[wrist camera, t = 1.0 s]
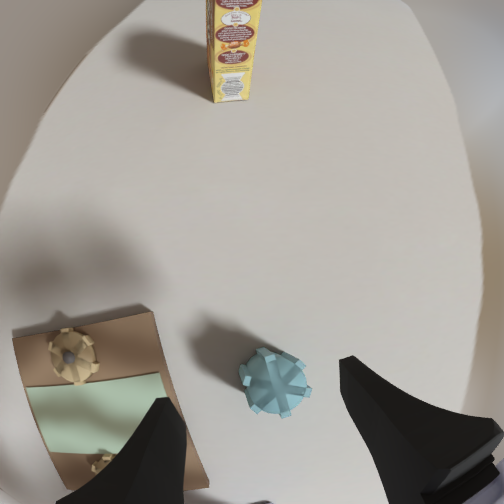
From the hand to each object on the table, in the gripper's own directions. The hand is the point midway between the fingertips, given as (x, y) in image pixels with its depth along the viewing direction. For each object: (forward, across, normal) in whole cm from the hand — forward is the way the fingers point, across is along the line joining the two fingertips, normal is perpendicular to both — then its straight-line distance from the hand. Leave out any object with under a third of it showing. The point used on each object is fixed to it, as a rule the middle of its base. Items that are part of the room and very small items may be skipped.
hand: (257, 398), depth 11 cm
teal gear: (+10, 0, +8) cm, 13 cm away
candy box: (+26, -3, -20) cm, 33 cm away
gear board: (+8, +16, +8) cm, 19 cm away
